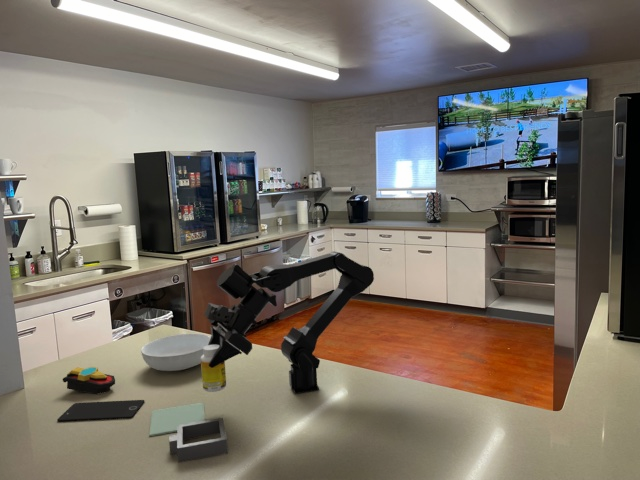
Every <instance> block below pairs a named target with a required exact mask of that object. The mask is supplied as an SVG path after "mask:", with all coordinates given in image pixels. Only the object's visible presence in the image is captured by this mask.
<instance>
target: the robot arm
mask: <svg viewBox="0 0 640 480" xmlns="http://www.w3.org/2000/svg"><path fill="white" fill-rule="evenodd" d="M332 270H336V271H337V272H339V274H340V278H339V281H338V285H337V287H336V288H335V289H334V290H333V292H332V293H331V294H330V295H329V297H327V299H326V300H325V301H323V303H322V304H321V306H320V307H319V308H318V309H317V311H316V312H315V313H314V314H313V315H312V316H311V317H310V319H309V320H308V321H307V322H306V323H305V324H304V325H303V326H302V327H300V328H299V329H298V328H296V327H295V326H293V327H291V329H290V330H289V331H288V333H287V334H286V335H285V336H283V337H282V339H283V341H282V342H281V344H280V351H281V354H282V355H283V357H285V358H286V359H287V360H288V362H289V363H290V370H289V371H288V380H289V381H288V383H289V387H290V388H291V390H293V392H294V394H295V395H296V394H302V393H310V392H314V391H315V392H316V391H319V390H320V386H319V385H318V377H317V376H318V375H317V373H318V370H317V369H318V368H319V366H320V362H321V360H320V359H319V358H318V357H317V356H316V355H314V354H313V353H314V352H315V349H316V347H317V342H318V339H319V337H320V336H321V335H322V334H323V332H324V331H325V330H326V329H327V328H328V326H330V324H331V323H332V322H333V321H334V319H336V317H337V316H338V315H339V314H340V312H341V311H343V308H345V306H346V305H347V304H348V303H349V301H350V300H351V299H352V298H353V297H356V296H357V295H360V294H361V293H363V292H364V291H366V290H367V289H368V288H369V287H370V286H371V285H372V284H373V282H374V280H375V274H374V271H373V270H372V268H371V267H370V266H367V265H364V264H360V263H358V262H356V261H354V260H353V259H351V258H349V257H348V256H346V255H345V254H344V253H342V252H337V251H330V252H329V253H326V254H322V255H319V256H316V257H313V258H309V259H306V260H302V261H298V262H295V263H291V264H275V265H266V266H264V267H262V268H261V269H260V271H257V272H253V273H250V274H248V273H247V272H246V271H245V270H243V268H242V267H241V266H240V265H239V264H237V263H233V264H232V266H230V267H228V268H227V269H226V270H225V271H223V272H222V273H221V274H220V275H219V277H218V279H217V281H216V286H217V287H218V288H220V289H221V290H222V291H224V292H225V293H226V294H227V295H229V296H230V297H231V298H232V299H234V300H238V299H241V300H240V301H239V302H238V303H237V304H236V305H235V304H232V305H231V306H230V307H228V306H227V305H226V306H225V305H222V304H220V305H217V304H215V303H211V302H208V304H207V307H206V309H205V310H204V311H205V312H204V314H203V316H204V317H206V319H207V320H208V321H207V322H208V323H209V324H210V326H209V329H210V335H211V336H210V337H211V339H210V341H209V344H208V345H219V348H218V350H217V351H216V353H215V354H214V356H213V358H212V359H211V361H210V363H209V367H211V368H213V367H215V366H217V365H219V364H220V363H222V362H224V361H225V362H226V361H227V360H229V359H232V358H233V357H236V356H238V355H242V354H243V353H244V354H245V355H246V356H249V353H251V351H252V350H253V343H252V341H250V340H249V339H248V338H247V335H246V332H247V331H248V330H249V328H251V326H252V325H254V326H256V324H257V323H258V321H256V319H257V318H258V317H259V316H260V314H261V313H262V312H263V311H264V309H265V308H266V307H267V305H268V304H270V305H272V306H273V307H277V305H278V304H277V296H276V294H274V293H280V292H281V291H283V290H286V289H287V288H290V287H291V286H292V285H294V284H295V283H296V282H297V281H299V280H303V279H305V278H308V277H312V276H315V275H319V274H321V273H325V272H328V271H332ZM253 285H255V286H257V287H260V288H258V289H257V288H256V287H254V286H253ZM264 288H265V289H267V290H268V291H271V292H274V293H271V294H270V293H269V292H267V291H266V290H265V289H264ZM211 325H212V326H211Z"/></svg>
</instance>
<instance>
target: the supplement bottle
mask: <svg viewBox="0 0 640 480" xmlns="http://www.w3.org/2000/svg"><path fill="white" fill-rule="evenodd" d="M218 348H219V345H208V346H205V347H204V348H203V353H204V355H202V356H201V363H200V368H201V369H200V371H201V380H202V381H201V382H202V389H203V391H204V392H208V393H216V392H217V393H218V392H220V391H223V390H224V389H225V388H226V387H227V376H226V374H227V373H226V361H224V362H222V363H220V364H219V365H217V366H215V367H213V368H211V367H209V363H210V361H211V359H212V358H213V356H214V354H215V353H216V351H217V350H218Z"/></svg>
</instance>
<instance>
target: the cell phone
mask: <svg viewBox="0 0 640 480" xmlns="http://www.w3.org/2000/svg"><path fill="white" fill-rule="evenodd" d="M144 404H145V400H144V399H134V400H133V399H132V400H130V399H129V400H112V401H111V400H109V401H90V402H89V401H88V402H87V401H86V402H75V403H72V405H71V406H70V407H69V408H68V409H66V411H64V412H63V413H62V414H61V415H60V416H59V417H58V418H57V420H56V421H57V423H66V422H67V423H69V422H90V421H108V420H110V421H111V420H112V421H113V420H130V419H134V417H135V416H136V415H137V413H138V412H139V411H140V410H141V408H142V407H143V405H144Z"/></svg>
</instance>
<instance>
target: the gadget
mask: <svg viewBox="0 0 640 480" xmlns="http://www.w3.org/2000/svg"><path fill="white" fill-rule="evenodd" d="M62 382H63V383H66V384H67V385H66V389H67V390H72V391H76V392H79V393H82V392H84V393H88V394H93V395H101V394H104V393H105V394H106V393H108V392H109V391H111V387H113V386H114V385H115V384H116V378H115V375H111V374H106V373H104V372H102V371H99V368H98V367H95V366H90V367H87V368H84V367H79V366H78V367H75V368H74V369H71V370H70V372H68V373H67V374H66V376H65V377H63V378H62Z"/></svg>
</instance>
